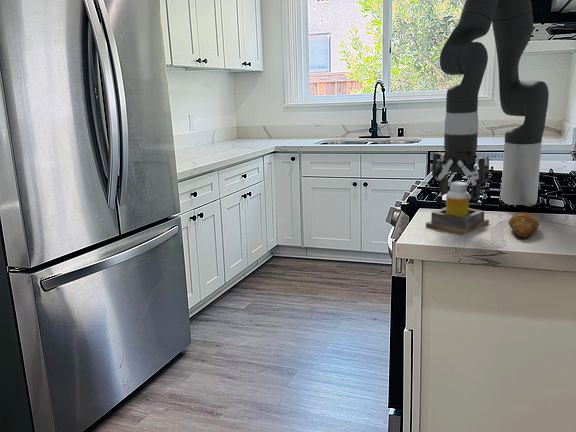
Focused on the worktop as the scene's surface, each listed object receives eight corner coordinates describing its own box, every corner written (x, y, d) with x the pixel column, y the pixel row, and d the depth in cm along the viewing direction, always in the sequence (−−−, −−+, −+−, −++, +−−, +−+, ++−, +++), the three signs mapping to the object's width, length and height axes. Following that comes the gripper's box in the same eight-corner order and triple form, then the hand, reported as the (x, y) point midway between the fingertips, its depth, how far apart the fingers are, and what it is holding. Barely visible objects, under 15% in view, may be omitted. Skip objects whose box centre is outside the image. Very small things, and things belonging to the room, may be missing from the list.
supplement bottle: (469, 224, 126) (471, 186, 123) (446, 224, 127) (448, 186, 124) (466, 218, 131) (468, 180, 128) (444, 217, 132) (446, 180, 129)
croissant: (509, 222, 130) (511, 203, 128) (539, 225, 127) (541, 205, 125) (505, 240, 118) (506, 219, 117) (537, 243, 115) (539, 221, 114)
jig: (453, 216, 137) (454, 203, 136) (488, 223, 129) (489, 210, 128) (425, 226, 129) (426, 213, 128) (460, 235, 122) (461, 221, 121)
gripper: (497, 130, 119) (493, 198, 124) (444, 127, 130) (443, 189, 135) (479, 135, 115) (476, 205, 120) (426, 131, 126) (425, 195, 130)
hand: (458, 196), depth 127 cm, fingers open, 8 cm apart
